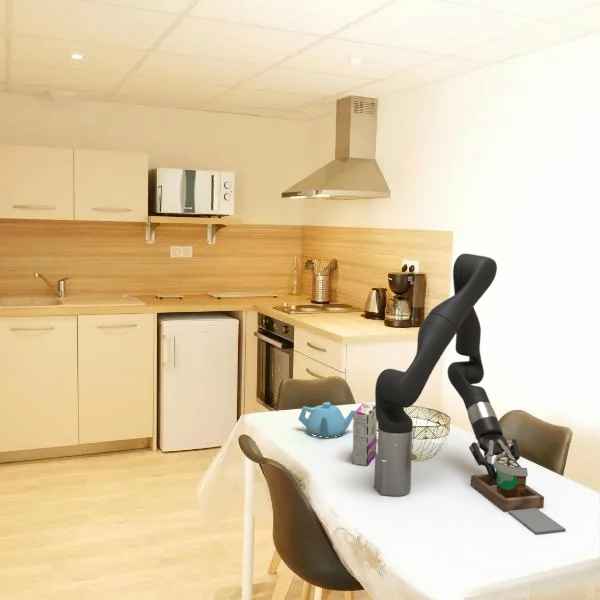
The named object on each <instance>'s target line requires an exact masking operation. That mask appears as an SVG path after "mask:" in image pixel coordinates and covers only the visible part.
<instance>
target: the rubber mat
mask: <svg viewBox="0 0 600 600" xmlns="http://www.w3.org/2000/svg"><path fill="white" fill-rule="evenodd" d="M507 513H508V515H510V516H511V517H512V516H513V517H512V518H514V519H515V520H516V521H518V522H519V523H520V524H522V525H523V526H524V527H525V528H527V529H528V530H529V531H530V532H531V533H533V534H534V535H535V536H537V535H538V536H539V535H547V534H554V533H556V534H557V533H564V532H566V530H567V529H566V528H565V527H564V526H562V525H561V524H559V523H558V522H557V521H556V520H554V519H552V518H551V517H550V516H548V515H546V513H544V512H542V511H541V510H539V509H537V508H532V509H522V510H512V511H508V512H507Z"/></svg>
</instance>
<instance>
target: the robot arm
mask: <svg viewBox="0 0 600 600" xmlns="http://www.w3.org/2000/svg"><path fill="white" fill-rule="evenodd" d="M497 271H498V263H497V262H496V261H495V259H494V258H492V257H488V256H484V255H478V254H474V253H473V254H472V253H461V254H459V255H458V256H457V258H456V259H455V261H454V264H453V268H452V279H453V289H454V290H453V291H454V295H452V296H450V297H449V298H447V299H445V300H444V301H442V302H440V303H439V304H437V305H436V306H435V307H432V309H431V310H430V312H428V315H427V316H426V317H425V319H424V320H423V321H422V323H421V324H420V327H419V328H418V332H417V346H416V354H415V356H414V359H413V360H412V362H411V364H409V366H408V367H407V369H406V370H405V371H401V370H399V369H395V368H387V369H386V368H385V369H384V370H382V371H381V372H380V373H379V374H378V376H377V379H376V383H375V389H374V393H375V394H374V395H375V396H374V398H375V399H374V400H375V401H374V403H375V404H374V405H376V418H377V423H378V424H377V426H378V427H377V428H378V429H377V430H378V431H377V432H378V433H377V437H378V438H377V452H376V454H375V457H374V472H373V473H374V476H373V478H374V480H373V487H374V488H375V489H376V490H377V492H378V493H379V494H380V495H381V496H385V495H386V496H392V497H400V496H401V497H402V496H406V495H408V494H410V493H411V487H412V460H413V459H412V455H413V454H412V452H413V451H412V450H413V427H414V425H413V420H412V417H410V416H409V414H407V412H406V411H405V409H406V408H409V407H411V406H414V404H415V403H416V402H417V400H418V399H419V397H420V396H421V394H422V393H423V390H424V389H425V386H426V385H427V382H428V380H429V378H430V376H431V375H432V372H433V371H434V369H435V367H436V366H437V363H438V362H439V361H440V359H441V357H442V356H443V354H444V352H445V351H446V349H447V348H448V346H450V343H451V342H452V341H453V338H455V351H456V354H458V355H460V356H463V357H468V360H464V361H463V360H462V361H454V362H451V363H450V364H449V365H448V367H447V377H448V380H449V383H450V384H451V386H452V387H453V388H454V389H455V391H456V392H457V393H458V395H459V397H460V398H461V400H462V401H463V404H464V407H465V410H466V412H467V416H468V420H469V423H470V426H471V429H472V431H473V434H474V436H475V439H476V441H477V442H475V441H473V442H472V443H471V444H470V445H469V446H468V448H469V451H470V452H471V455H472V456H473V458H474V460H475V462H476V464H477V465H478V466H483V467H484V468H485V469H486V471H487V472H486V473H487V474H488V475H489V477H490V478H491V479H492V480H493V479H496V478H497V474H496V469H495V468H494V466H493V464H494V463H492V460H493V457H494V456H497V455H499V454H502V453H505V454H506V456H508V457H510V458H511V459H512V460H514V461H516V462H518V461H519V460H520V458H521V455H520V452H519V446H518V442H517V440H516V439H515V438H513V439H511V440H509V439H506V437H505V436H504V432H503V429H502V427H501V424H500V422H499V419H498V417H497V414H496V412H495V409H494V407H493V405H492V404H491V402H490V399H489V396H488V394H487V391H486V390H485V389H484V387H482V386H478V385H477V384H479V383H481V382H482V380H483V379H484V376H485V370H484V366H483V362H482V356H481V347H480V346H481V334H482V328H481V324H480V319H479V317H478V314H477V312H476V310H475V305H476V304H477V303H478V301H479V300H480V299H481V298H482V297H483V295H484V294H485V293H486V292H487V291H488V290H489V288H490V286H491V285H492V284H493V281H494V280H495V278H496V275H497ZM403 408H404V409H403ZM481 450H482V451H483V454H482V451H481Z"/></svg>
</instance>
